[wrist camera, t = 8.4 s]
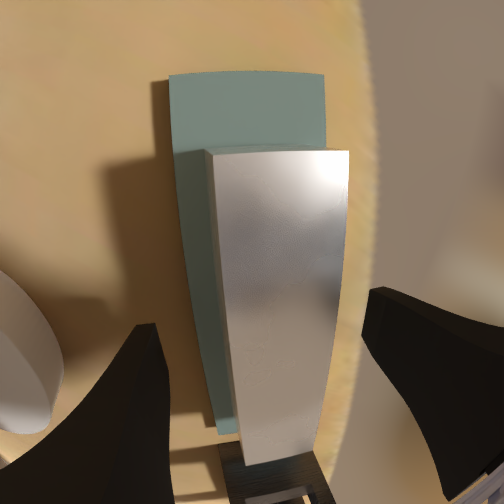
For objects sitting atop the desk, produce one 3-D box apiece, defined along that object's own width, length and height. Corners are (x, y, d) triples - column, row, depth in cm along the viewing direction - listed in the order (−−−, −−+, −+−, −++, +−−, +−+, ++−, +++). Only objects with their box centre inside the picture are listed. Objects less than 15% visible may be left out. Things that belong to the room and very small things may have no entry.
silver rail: (292, 404, 14) (312, 450, 11) (233, 415, 13) (245, 465, 10) (301, 143, 9) (349, 150, 6) (204, 148, 8) (212, 155, 6)
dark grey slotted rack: (292, 483, 20) (312, 536, 14) (233, 495, 19) (246, 551, 14) (302, 427, 16) (336, 504, 11) (218, 444, 15) (235, 529, 10)
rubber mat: (302, 410, 15) (305, 417, 14) (217, 426, 14) (218, 435, 14) (316, 77, 9) (324, 74, 8) (169, 79, 8) (169, 75, 7)
